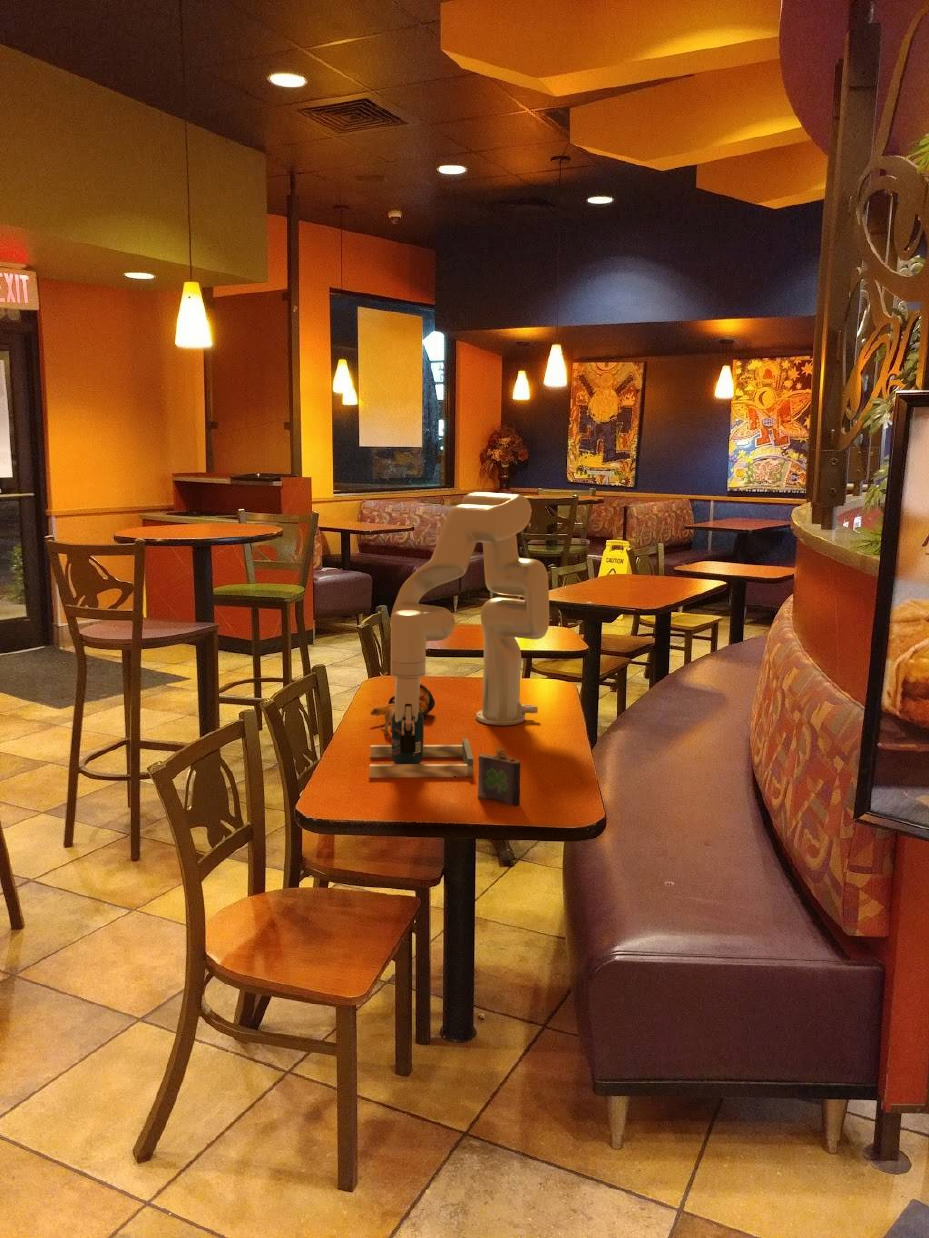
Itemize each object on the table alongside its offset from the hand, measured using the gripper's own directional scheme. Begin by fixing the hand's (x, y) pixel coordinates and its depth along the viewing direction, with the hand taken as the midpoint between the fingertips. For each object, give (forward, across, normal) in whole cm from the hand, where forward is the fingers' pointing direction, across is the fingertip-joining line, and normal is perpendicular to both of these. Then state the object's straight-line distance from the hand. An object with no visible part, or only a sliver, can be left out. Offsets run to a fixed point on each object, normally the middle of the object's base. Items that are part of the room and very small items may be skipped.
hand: (407, 746), depth 213 cm
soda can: (+4, 0, 0) cm, 4 cm away
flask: (+5, +21, +18) cm, 28 cm away
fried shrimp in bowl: (+5, -37, 0) cm, 37 cm away
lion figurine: (+5, -21, -2) cm, 22 cm away
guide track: (+4, 0, +3) cm, 5 cm away
